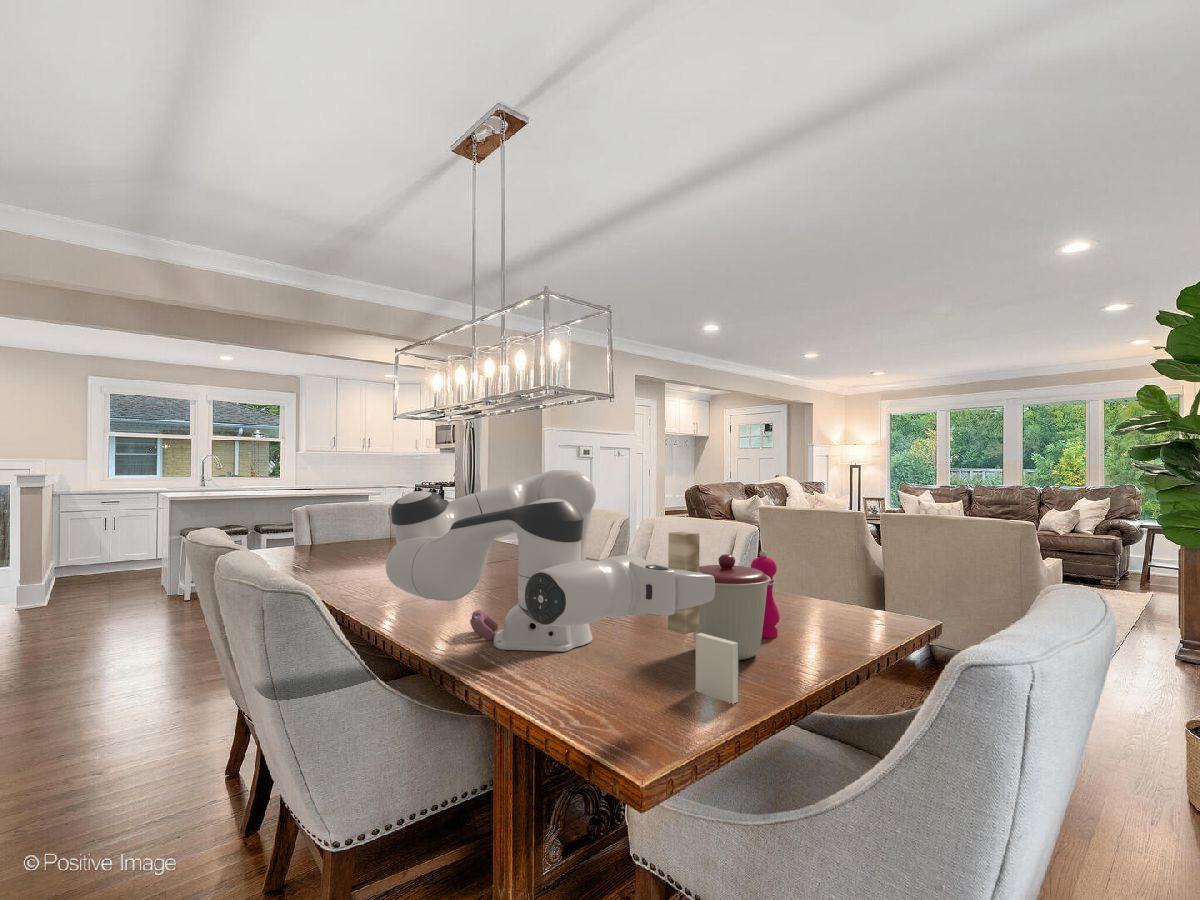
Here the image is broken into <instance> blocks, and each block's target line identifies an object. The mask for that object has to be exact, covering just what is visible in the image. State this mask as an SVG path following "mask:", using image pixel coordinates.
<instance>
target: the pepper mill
mask: <svg viewBox="0 0 1200 900" xmlns="http://www.w3.org/2000/svg"><path fill="white" fill-rule="evenodd" d="M777 567H778V566H777V564H776V562H775V561H774V560H773V558H771V557H768V551H766V550H760V552H759V556H758V557H755V558H754V559H753V560H752V561H751V562H750V568H754V569H757V570H760V571H762V572H763V573H764V574H765V575H767V576H769V577H770V578H771V581H770V582H769V583H768V584H767V594H766V604H765V614H764V623H763V631H762V638H761V639H775V638H777V637H778V635H779V634H778V633H779V631H778V628H777V625H778V623H779V622H780V612H779V609H778V606H777V604H776V601H775V599H774V595H773V586H774V585H775V578H774V576H775V575H776V573H777ZM774 637H775V638H774Z"/></svg>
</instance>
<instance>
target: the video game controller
mask: <svg viewBox="0 0 1200 900" xmlns="http://www.w3.org/2000/svg"><path fill="white" fill-rule="evenodd" d="M469 622H470V626H471V629H472V630H473V632H474V633H475V634H476V635H477V636H478V637H479V638H483V639H484V640H487V641H494V636H495V634H496V633H495V631H497V630H498V629H499V623H498V622H497V621H496V620H495V619H494V618H493V617H491V616H490V614H488V613H487V612H486V611H485V610H483V609H476V610H474V611H473V612H472V613H471V619H470V620H469Z"/></svg>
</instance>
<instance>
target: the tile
mask: <svg viewBox="0 0 1200 900" xmlns="http://www.w3.org/2000/svg"><path fill="white" fill-rule="evenodd" d="M739 670H740V669H739V660H738V642H734V641H730V640H727V639H723V638H719V637H716V636H712V635H708V634H704V633H698V634H696V644H695V692H698V693H700V694H703V695H704V696H708V697H711V698H713V697H714V698H713V699H716V698H717V700H719V699H720V700H719V701H722V700H723V701H722V702H724V701H726V702H725V703H727V702H729V703H728V704H730V703H732V704H731V705H735V704H734V703H736V702H738V701H739V699H740V698H739V696H740V695H739V693H740V692H739V691H740V690H739V689H740V686H739V685H740V684H739V678H740V676H739ZM739 702H740V701H739ZM739 702H738V703H739ZM736 704H737V703H736Z"/></svg>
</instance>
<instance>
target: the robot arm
mask: <svg viewBox="0 0 1200 900" xmlns="http://www.w3.org/2000/svg"><path fill="white" fill-rule="evenodd" d="M596 498H597V497H596V489H595V486H594V485H593V483H592V481H591V480H590V479H589V477H587V476H585V474H583V473H581V472H579V471H577V470H572V469H571V470H569V469H568V470H567V469H565V470H564V469H563V470H561V469H554V470H548V471H545V472H542V473H538V474H536V475H531V476H529V477H525V478H522V479H519V480H516V481H513V482H510V483H506V484H504V485H500V486H496V487H493V488H489V489H485V490H482V491H478V492H474V493H471V494H468V495H467V494H466V495H465V496H464V495H463V496H461V497H459V498H456V499H454V500H451V501H448V499H444V498H443V497H442V496H441V495H440V494H438V493H437V492H434V491H432V490H431V491H430V490H428V491H427V490H420V491H418V490H417V491H412V492H408V493H406V494H405V495H403V496H401V497H400V498H398V499H397V500H395V502H393V504H392V506H391V507H390V510H391V511H390V516H391V517H390V518H391V519H390V520H391V524H393V528H394V536H395V540H396V544H395V545H394V546H393V547H391V549H390V551H389V553H388V555H387V556H386V557H387V558H386V559H385V572H386V576H387V578H388V579H389V581H390V583H392V585H394V586H395V587H397V588H399V590H402V591H404V592H406V593H408V594H411V595H414V596H417V597H419V598H420V597H421V598H423V599H429V600H433V601H442V602H443V601H445V602H446V601H447V602H449V601H456V600H459V599H462V598H464V597H465V596H467V595H469V593H471V592H472V591H473V590H474V589H475V588H476V586H477V585H479V582H480V580H481V579H482V578H483V575H484V573H485V568H486V565H487V560H488V555H489V553H490V549H491V546H492V544H493V542H494V541H495V540H496V539H499V538H503V537H505V536H509V535H512V534H516V536H517V541H518V542H517V543H518V560H517V561H518V563H517V564H518V572H517V598H518V600H517V601H518V603H517V604H515V605H513V606H512V607H511V608H510V609H509V610H508V612H507V614H506V616H505V619H504V623H503V624H504V625H503V628H502V629H500V630H498V631H497V632H496V633H495V636H494V639H493V646H494V647H495V648H496V649H499V650H505V651H511V650H512V651H533V652H534V651H535V652H562V653H563V652H568V651H569V650H570V651H571V650H572V649H574V648H578V647H581V646H585V645H587V644H590V642H593V639H594V638H593V634H592V630H591V625H590V624H592V623H596V622H599V621H601V620H603V619H604V618H612V619H615V618H622V617H625V616H627V617H628V616H637V615H647V616H648V615H649V616H657V617H658V616H661V617H668V616H669V615H673V614H674V613H675V609H686V608H690V607H694V606H698V605H701V604H704V603H708V602H710V601H712V600H713V599H714V596H715V579H714V577H713V576H712V575H709V574H703V573H702V572H698V571H686V570H680V569H675V568H669V567H668V566H663V565H659V564H655V563H652V562H650V561H648V560H646V559H644V558H642V557H641V556H639V555H637V554H622V555H617V556H616V555H615V556H608V557H607V556H606V557H603V558H601V559H599V560H592V559H587V555H586V553H587V539H588V533H589V528H590V521H591V516H592V509H593V507H594V504H595V503H596Z"/></svg>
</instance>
